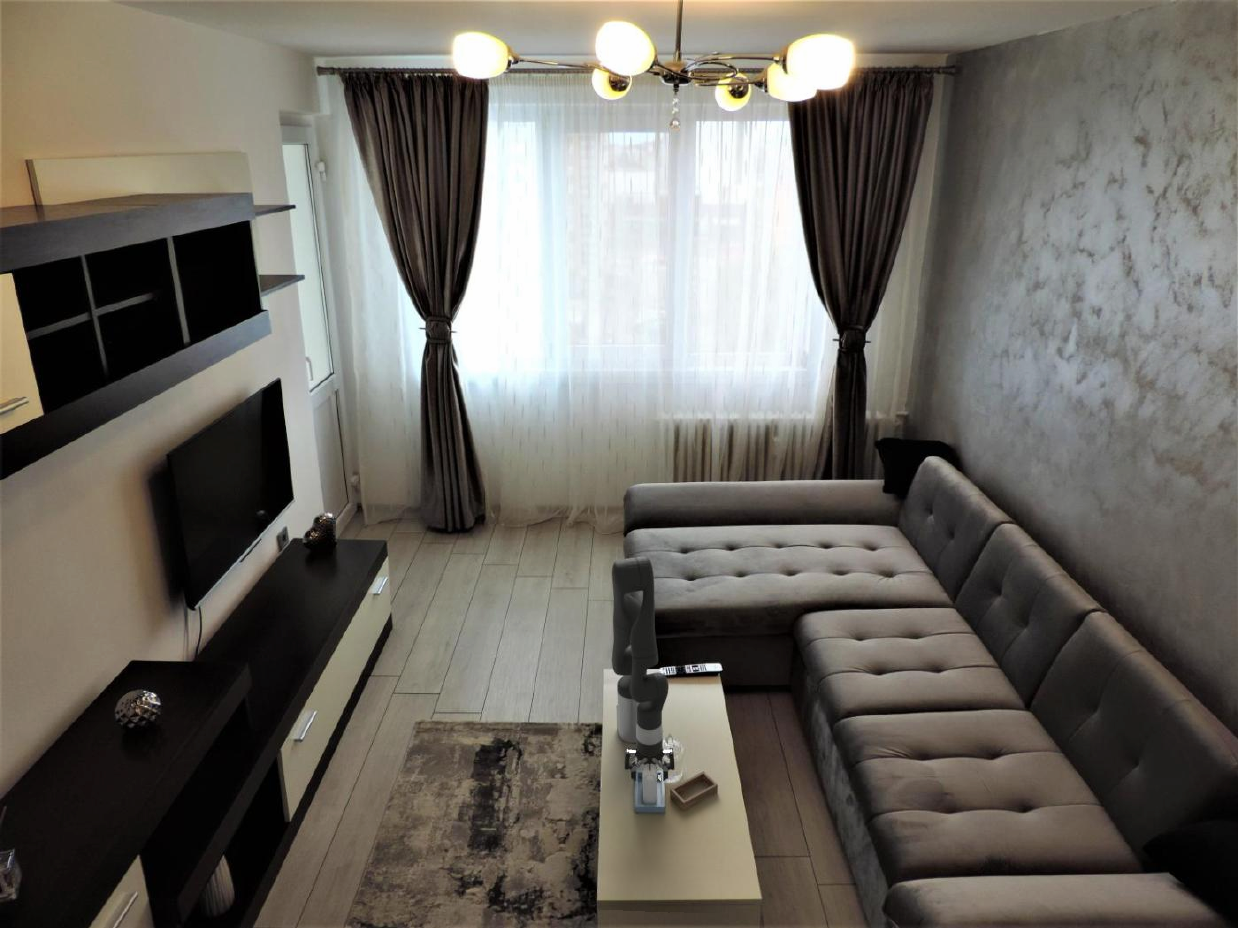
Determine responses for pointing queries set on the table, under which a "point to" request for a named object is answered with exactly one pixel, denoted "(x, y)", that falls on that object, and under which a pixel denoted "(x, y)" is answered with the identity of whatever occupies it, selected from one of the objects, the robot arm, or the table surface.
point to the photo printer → (649, 783)
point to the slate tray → (639, 803)
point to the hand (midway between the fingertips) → (649, 778)
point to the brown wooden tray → (698, 797)
